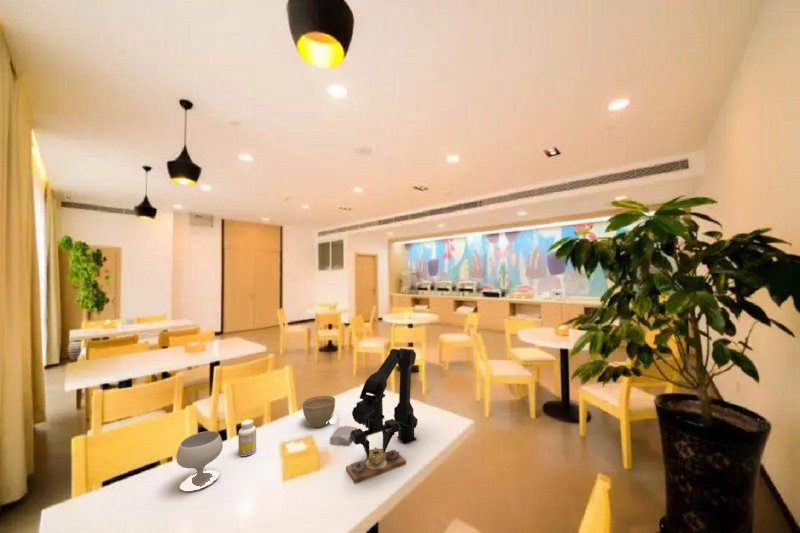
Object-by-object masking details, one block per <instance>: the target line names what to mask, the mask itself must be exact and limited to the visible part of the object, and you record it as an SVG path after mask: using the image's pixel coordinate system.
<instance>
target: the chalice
mask: <svg viewBox="0 0 800 533" xmlns="http://www.w3.org/2000/svg"><path fill="white" fill-rule="evenodd" d="M222 450H223V440H222V436H221V435H220V433H219V432H218V431H214V430H209V431H208V430H207V431H201V432H197V433H195V434H192V435H189V436H187V437H185V438H184V439H183V440H182V441H181V442H180V444H179V446H178V449H177V452H176V463H177V464H178V466H180V467H181V468H183V469H195V471H196V473H197V475H196V476H195V477H193V478H192V483H193V484H194V485H196V486H200V487H201V486H203V485H205V483H206V482H208V481H210V478H211V477H213V476H212V474H210V473H203V470H205V467H206V466H207V465H209V464H210V463H212V462H214V461H215V460H216V459H217V458H218V457H219V455H220V454H221V453H222Z"/></svg>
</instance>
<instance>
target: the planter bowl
mask: <svg viewBox="0 0 800 533" xmlns="http://www.w3.org/2000/svg"><path fill="white" fill-rule="evenodd" d="M335 403H336V398H335V397H333V396H330V395H317V396H312V397H309V398H306V399H305V400H303V401H302V405H301V406H302V411H303V416H304V418H305V419H306V421H307V422H308V425H309V426H310V427H312V428H321V427H325V426H327V425H326V422H327V421H328V420H329V421H330V419H331V418H332V416H333V414H334V412H335V407H336V404H335Z"/></svg>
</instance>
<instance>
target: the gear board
mask: <svg viewBox="0 0 800 533" xmlns="http://www.w3.org/2000/svg"><path fill="white" fill-rule="evenodd" d="M374 454H376V455H377V454H378V452H374ZM404 465H405V466H406V465H407V460H406V459H405V458H404V457H403V456H402V455H401V454H400V452H399V451H397V450H396V449H392V450H389V451H386V458H384V462H379V463H378V464H376V463H369V460H367V459H366V458H365V459H363V460H359V461H356V462H355V463H351V464H348V465H346V466H345V471H346V473H347V474H348V476H349V477H350V479H351V480H352V482H353V483H354V484H355V485H356V484H358V483H361V482H364V481H366V480H369V479H371V478H374V477H376V476H379V475H382V474H384V473H387V472H390V471H392V470H394V469H397V468H400V467H402V466H404Z"/></svg>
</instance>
